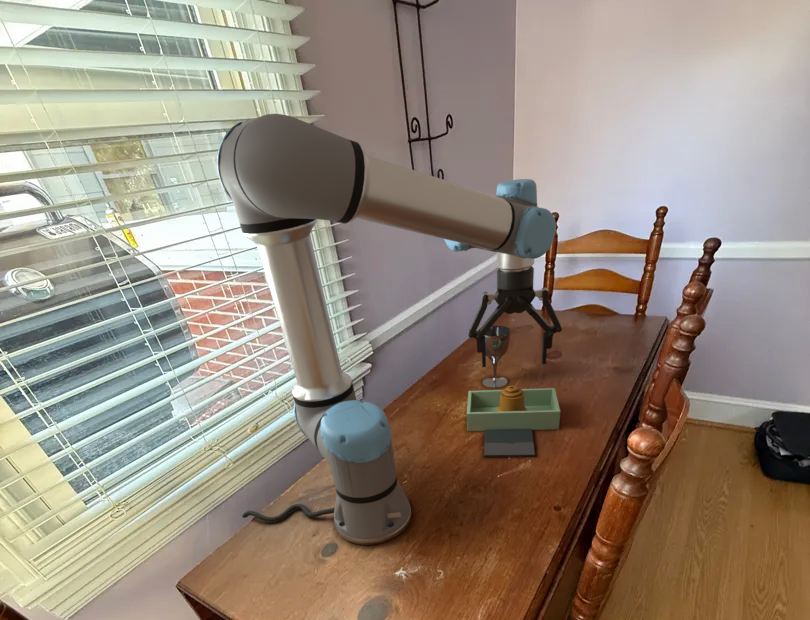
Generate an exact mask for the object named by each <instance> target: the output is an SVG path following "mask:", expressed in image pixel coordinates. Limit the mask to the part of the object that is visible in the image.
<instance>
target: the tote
mask: <svg viewBox="0 0 810 620" xmlns="http://www.w3.org/2000/svg"><path fill="white" fill-rule="evenodd" d="M520 389H521V390H522V391H523V392H524V406H525V407H526V409H527V411H500V412H496V411H497V408H498V407H499V406H500V393H501V391H502V390H503V389H486V390H485V389H484V390H468V394H467V404H466V405H467V406H466V431H467V432H482V431H483V432H485V430H494V429H532V431H536V430H537V431H540V430H541V431H542V430H560V420H561V407H560V404H559V399H558V395H557V389H556V387H545V388H520Z"/></svg>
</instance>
